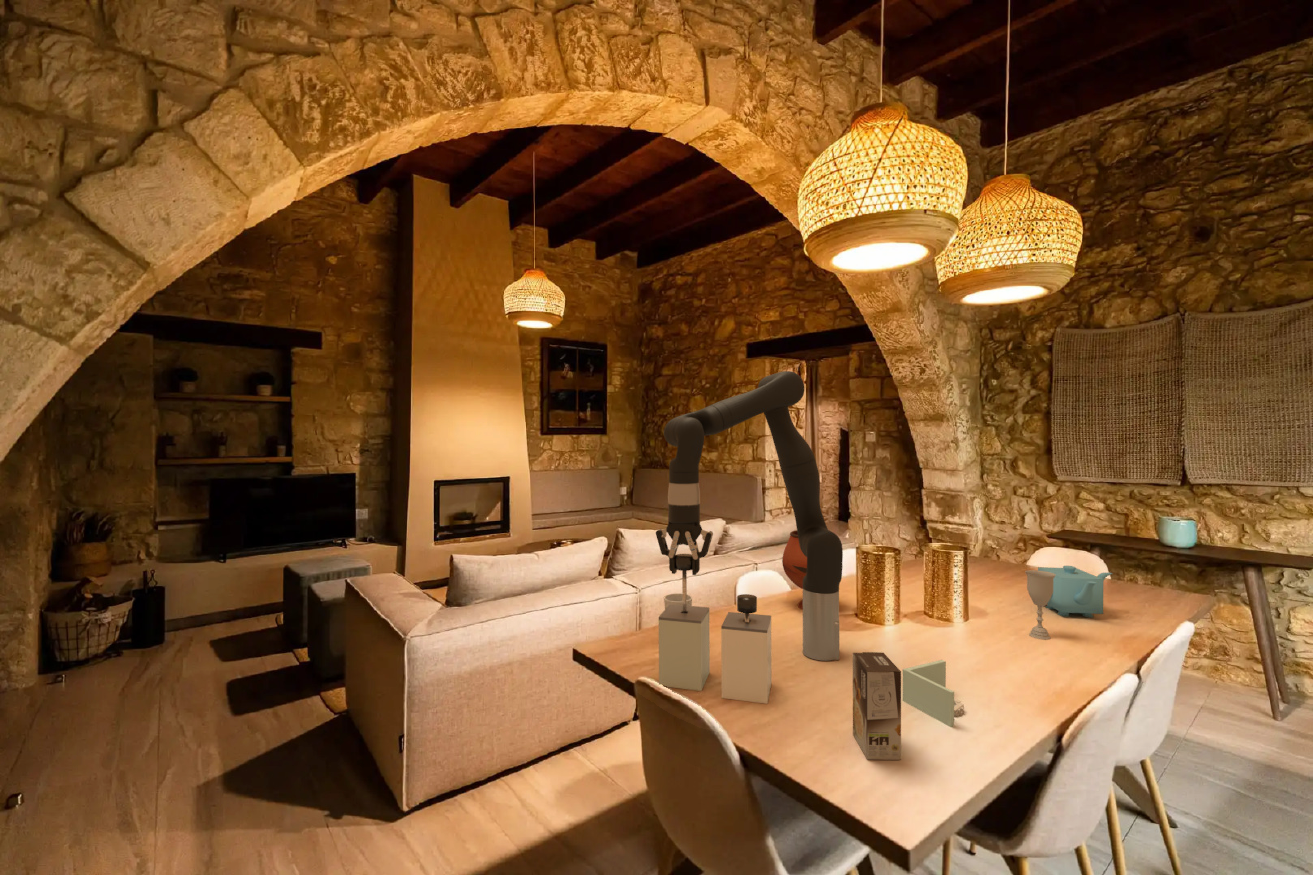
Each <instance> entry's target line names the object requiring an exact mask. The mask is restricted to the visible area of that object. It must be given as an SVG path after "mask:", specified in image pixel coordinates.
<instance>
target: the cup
mask: <svg viewBox="0 0 1313 875" xmlns="http://www.w3.org/2000/svg"><path fill="white" fill-rule="evenodd" d="M663 603H664V610H665V609H666V608H667V607H668V606H669V604H673V605H682V593H676V592H675V593H669V594H666V595H665V596H664V597H663ZM687 606H693V597H692V596H691V594H690V595H689V594H687Z"/></svg>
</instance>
